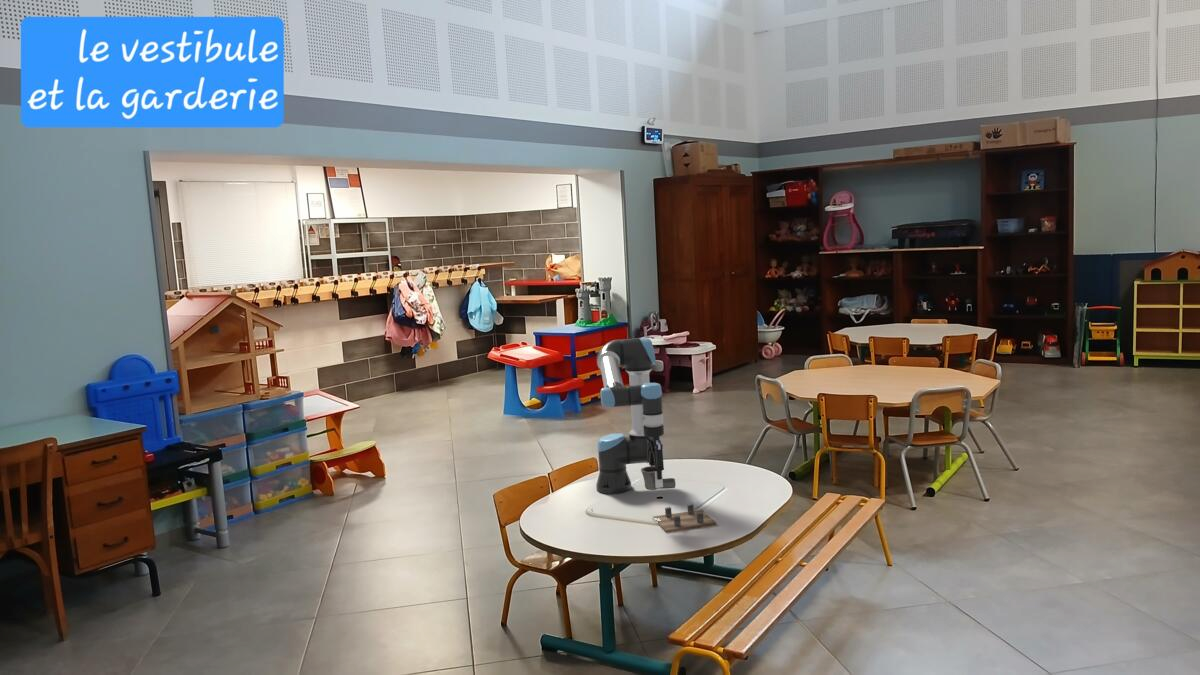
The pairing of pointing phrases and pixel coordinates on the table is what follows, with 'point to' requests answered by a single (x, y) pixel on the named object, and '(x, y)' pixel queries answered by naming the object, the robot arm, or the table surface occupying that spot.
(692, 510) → the collar cradle
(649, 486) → the pipe
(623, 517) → the table surface
